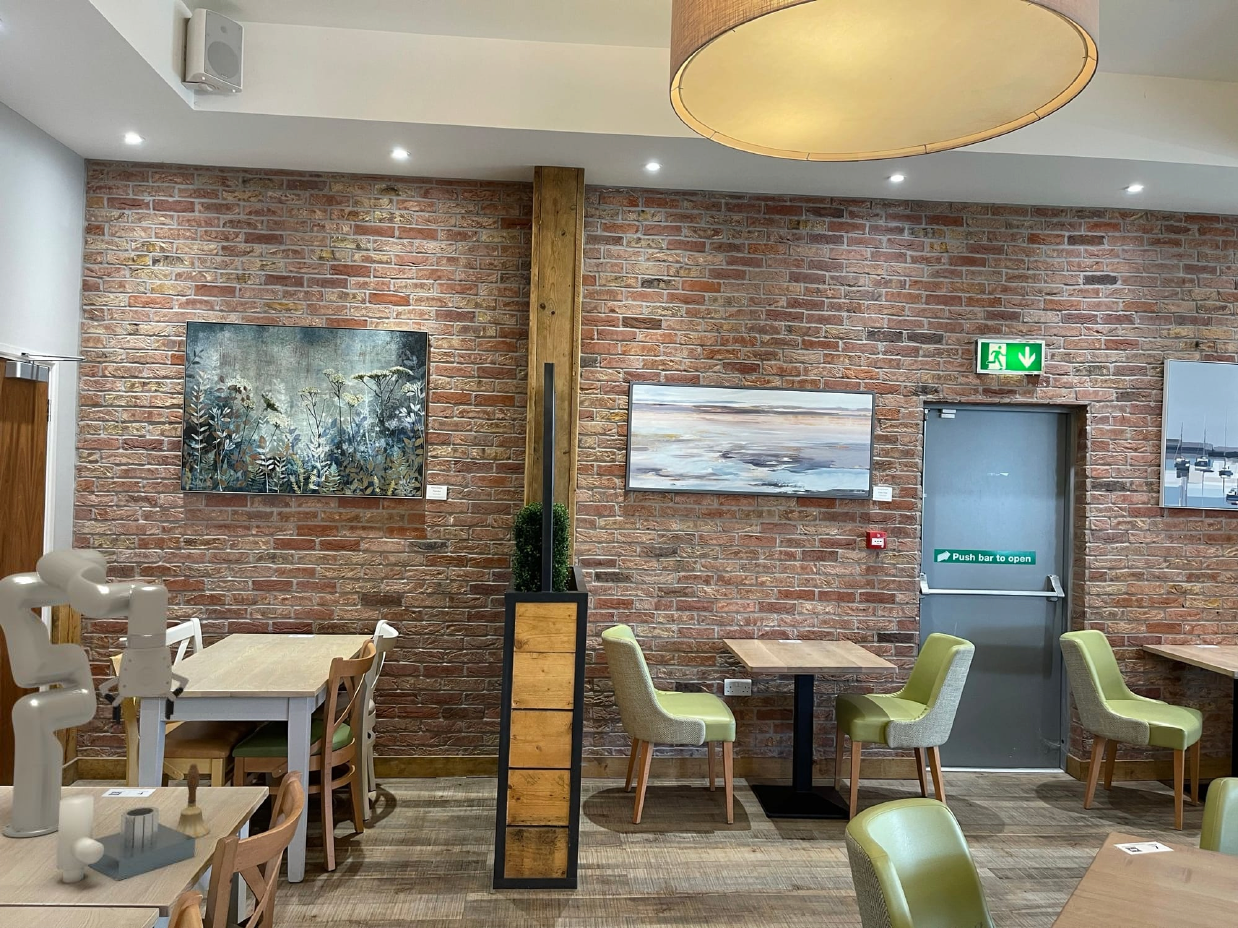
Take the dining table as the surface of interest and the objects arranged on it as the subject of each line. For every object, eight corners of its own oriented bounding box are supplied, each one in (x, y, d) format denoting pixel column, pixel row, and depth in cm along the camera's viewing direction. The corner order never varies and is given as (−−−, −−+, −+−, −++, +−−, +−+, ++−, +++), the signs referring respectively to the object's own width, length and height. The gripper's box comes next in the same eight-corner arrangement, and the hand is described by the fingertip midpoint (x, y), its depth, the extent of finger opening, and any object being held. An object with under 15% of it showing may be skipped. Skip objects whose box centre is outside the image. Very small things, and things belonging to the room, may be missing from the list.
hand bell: (217, 829, 210) (220, 761, 210) (190, 841, 202) (193, 770, 203) (190, 825, 212) (192, 757, 213) (161, 837, 204) (164, 766, 205)
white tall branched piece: (50, 880, 180) (54, 799, 181) (81, 870, 185) (85, 792, 186) (75, 894, 174) (79, 810, 175) (107, 883, 179) (111, 802, 180)
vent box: (80, 861, 189) (83, 814, 190) (155, 839, 202) (157, 795, 203) (118, 880, 180) (120, 830, 181) (194, 856, 193) (196, 809, 194)
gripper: (102, 646, 186) (98, 729, 186) (192, 641, 196) (189, 720, 195) (99, 642, 193) (95, 722, 192) (187, 637, 202) (184, 713, 201)
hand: (143, 721), depth 193 cm, fingers open, 9 cm apart
